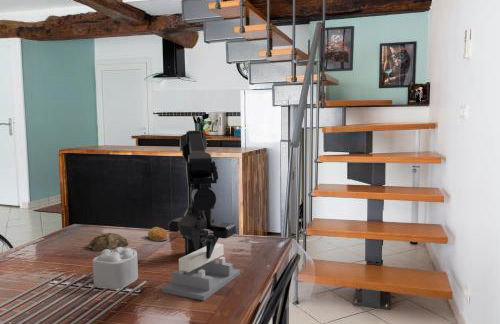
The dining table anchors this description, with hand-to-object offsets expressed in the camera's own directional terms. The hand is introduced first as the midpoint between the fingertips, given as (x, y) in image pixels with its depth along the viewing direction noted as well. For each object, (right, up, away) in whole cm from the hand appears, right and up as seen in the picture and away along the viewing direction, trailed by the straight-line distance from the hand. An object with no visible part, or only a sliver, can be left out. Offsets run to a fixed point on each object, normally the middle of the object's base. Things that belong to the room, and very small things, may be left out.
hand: (202, 257), depth 120 cm
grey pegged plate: (0, -7, +1) cm, 7 cm away
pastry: (-22, -3, +45) cm, 50 cm away
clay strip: (0, -1, 0) cm, 1 cm away
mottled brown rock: (-38, -4, +36) cm, 52 cm away
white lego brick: (-25, -7, +4) cm, 26 cm away
